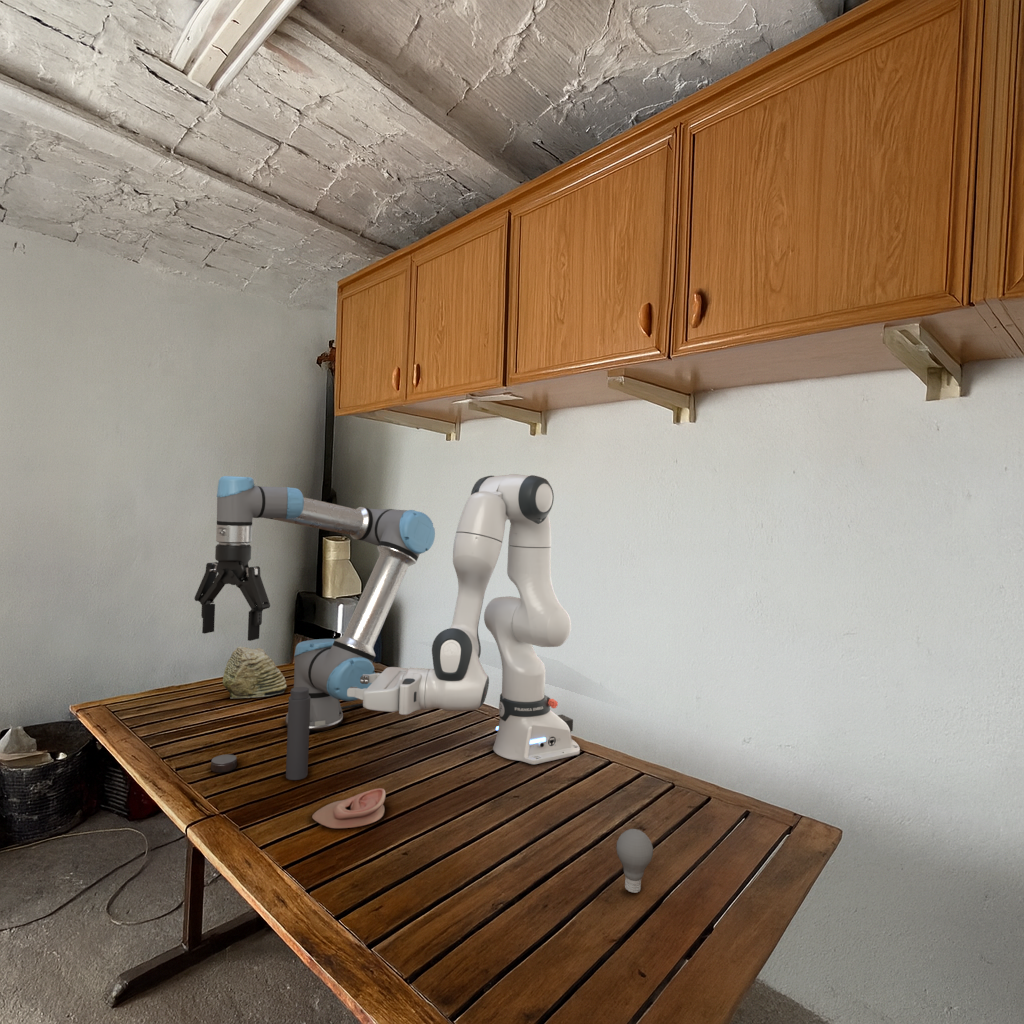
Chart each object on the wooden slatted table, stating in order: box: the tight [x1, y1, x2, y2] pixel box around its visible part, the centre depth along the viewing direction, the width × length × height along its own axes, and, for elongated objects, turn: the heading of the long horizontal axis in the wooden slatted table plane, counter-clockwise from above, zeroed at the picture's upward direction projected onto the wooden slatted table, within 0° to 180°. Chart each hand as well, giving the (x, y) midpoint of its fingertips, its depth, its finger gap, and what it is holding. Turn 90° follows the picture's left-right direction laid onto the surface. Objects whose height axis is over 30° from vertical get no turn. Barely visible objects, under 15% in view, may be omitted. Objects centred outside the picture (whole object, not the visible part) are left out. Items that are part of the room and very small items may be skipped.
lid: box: [210, 753, 238, 773], centre depth 146 cm, size 5×5×2 cm
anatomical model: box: [311, 787, 387, 829], centre depth 126 cm, size 13×4×12 cm
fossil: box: [222, 646, 288, 699], centre depth 198 cm, size 9×18×15 cm, turn 132°
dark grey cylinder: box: [285, 687, 311, 781], centre depth 143 cm, size 5×5×20 cm
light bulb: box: [615, 828, 654, 894], centre depth 106 cm, size 6×6×10 cm
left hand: (230, 636), depth 145 cm, fingers open, 13 cm apart
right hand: (354, 685), depth 142 cm, fingers open, 8 cm apart
